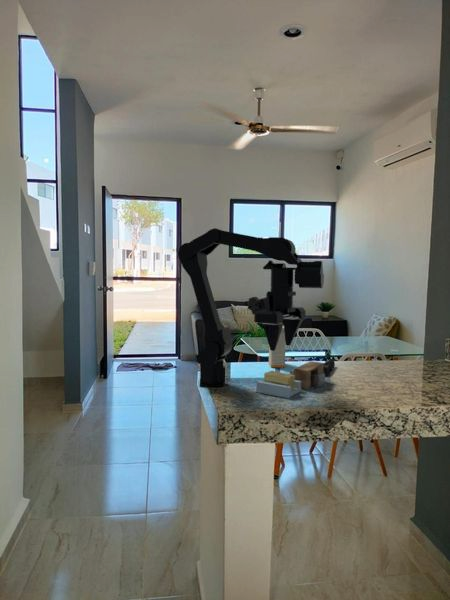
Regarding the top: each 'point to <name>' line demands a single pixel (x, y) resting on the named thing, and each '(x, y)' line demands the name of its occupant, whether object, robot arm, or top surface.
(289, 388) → the cradle
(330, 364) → the electric trimmer
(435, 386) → the top surface
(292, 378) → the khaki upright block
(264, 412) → the top surface
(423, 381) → the top surface
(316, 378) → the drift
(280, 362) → the supplement box
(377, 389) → the top surface
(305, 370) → the beam
